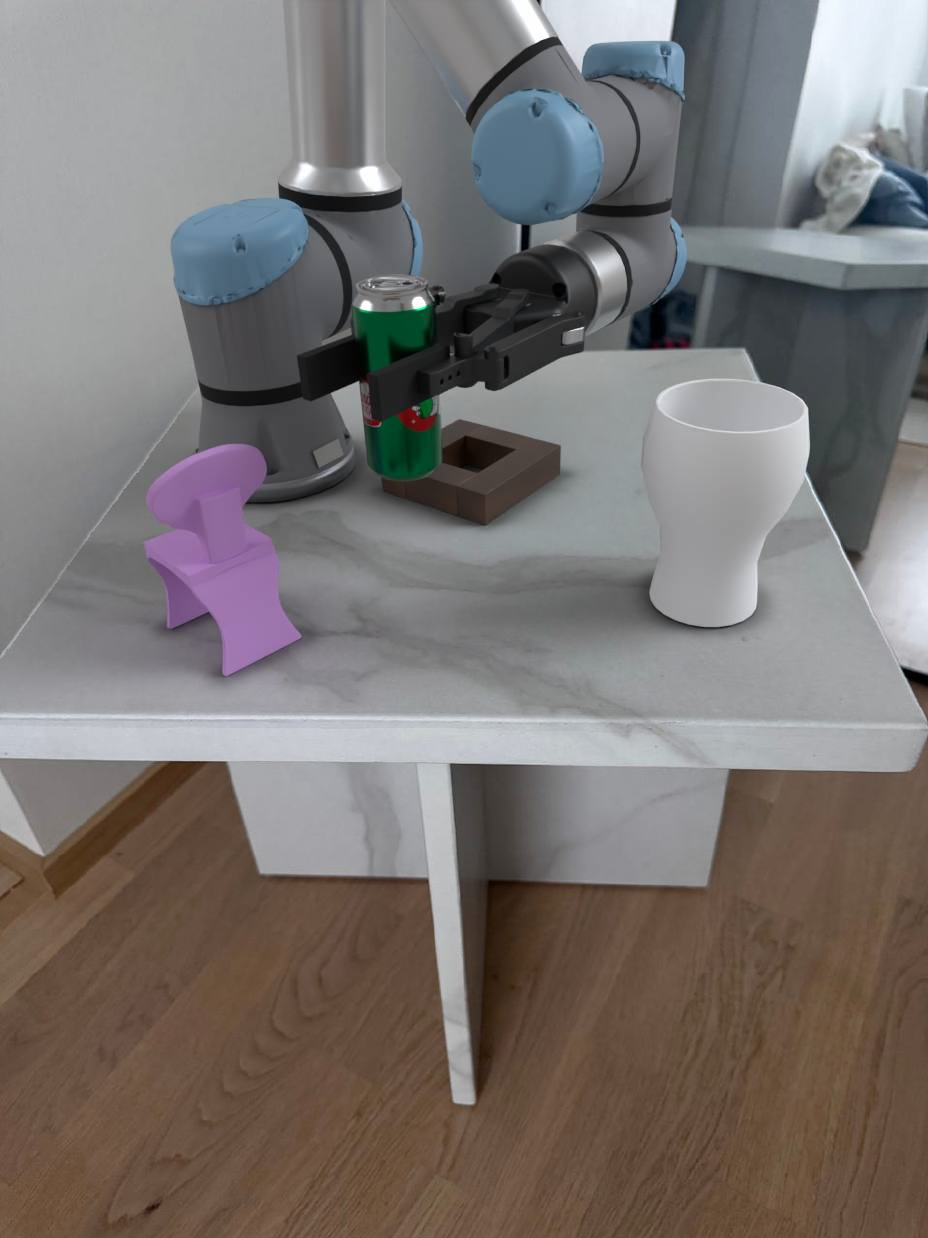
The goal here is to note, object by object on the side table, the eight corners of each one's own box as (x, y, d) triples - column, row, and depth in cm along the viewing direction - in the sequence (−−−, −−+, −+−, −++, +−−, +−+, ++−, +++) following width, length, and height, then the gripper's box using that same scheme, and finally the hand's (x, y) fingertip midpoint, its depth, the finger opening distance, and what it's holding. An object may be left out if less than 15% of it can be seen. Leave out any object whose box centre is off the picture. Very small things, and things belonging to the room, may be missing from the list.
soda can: (369, 454, 60) (351, 274, 53) (441, 450, 60) (432, 270, 53) (367, 486, 56) (347, 296, 49) (444, 482, 56) (435, 292, 49)
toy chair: (249, 586, 68) (209, 402, 59) (313, 631, 62) (280, 437, 54) (151, 630, 63) (93, 439, 55) (212, 684, 58) (157, 481, 49)
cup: (784, 647, 59) (829, 440, 50) (626, 633, 61) (643, 432, 52) (771, 566, 67) (807, 377, 59) (632, 556, 69) (648, 372, 61)
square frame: (382, 490, 81) (379, 461, 79) (460, 446, 88) (459, 418, 86) (485, 525, 74) (484, 494, 73) (560, 474, 82) (561, 444, 80)
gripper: (658, 366, 63) (461, 485, 48) (462, 326, 72) (247, 415, 58) (669, 257, 59) (456, 351, 44) (459, 229, 68) (226, 299, 53)
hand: (338, 387), depth 51 cm, fingers closed on soda can, 5 cm apart
